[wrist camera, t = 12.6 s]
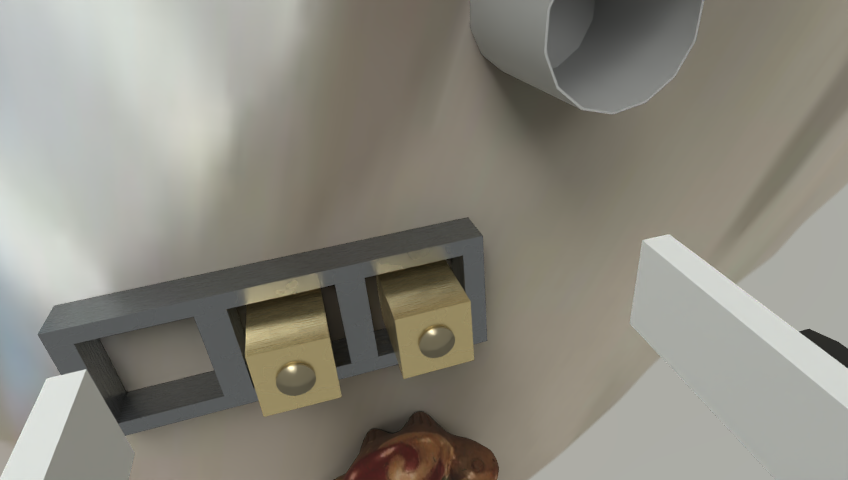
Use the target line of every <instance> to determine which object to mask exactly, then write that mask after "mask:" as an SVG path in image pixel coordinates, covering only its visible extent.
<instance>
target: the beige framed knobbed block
mask: <svg viewBox="0 0 848 480" xmlns="http://www.w3.org/2000/svg"><path fill="white" fill-rule="evenodd" d="M376 281H377V287H378V294H379V300H380V306H381V312H382V318H383V321H384V324H385V327H386V330H387V332H388V335H389V338H390V341H391V344H392V347H393V350H394V353H395V355H396V358H397V361H398V364H399V367H400V370H401V373H402V376H403V379H406V378H409V377H413V376H417V375H421V374H424V373H428V372H432V371H435V370H439V369H443V368H447V367H450V366H454V365H458V364H461V363H465V362H469V361H473V360H474V349H473V333H472V316H471V301H470V299H469V298H468V296H467V295H466V293H465V291H464V290H463V288H462V286H461V285H460V283H459V282H458V280H457V278H456V277H455V275H454V273H453V272H452V270H451V269H450V267H449V265H448V264H447V262H446V260H440V261H436V262H432V263H427V264H423V265H419V266H414V267H410V268H405V269H401V270H397V271H392V272H388V273H383V274H379V275H376Z"/></svg>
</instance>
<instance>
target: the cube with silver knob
mask: <svg viewBox="0 0 848 480" xmlns="http://www.w3.org/2000/svg"><path fill="white" fill-rule="evenodd" d="M245 358H246V361H247V365H248V368H249V371H250V374H251V377H252V381H253V384H254V387H255V390H256V393H257V397H258V400H259V403H260V406H261V409H262V413H263V416H264V417H265V416H269V415H273V414H277V413H281V412H285V411H289V410H293V409H297V408H301V407H305V406H309V405H313V404H317V403H321V402H325V401H329V400H333V399H337V398H341V397H342V395H341V390H340V385H339V380H338V375H337V369H336V364H335V359H334V354H333V348H332V343H331V338H330V333H329V328H328V323H327V318H326V313H325V308H324V303H323V298H322V294H321V289H320V288H317V289H313V290H309V291H304V292H300V293H295V294H291V295H287V296H282V297H278V298H273V299H269V300H265V301H260V302H256V303H251V304H247V309H246V345H245Z"/></svg>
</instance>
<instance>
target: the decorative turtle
mask: <svg viewBox="0 0 848 480" xmlns="http://www.w3.org/2000/svg"><path fill="white" fill-rule="evenodd" d="M498 472H499V467H498V463H497V460H496V458H495V456H494V454H493V453H492V451H491V450H489V449H488V448H486V447H484V446H483V445H481V444H479V443H477V442H476V441H473V440H470V439H468V438H464V437H459V436H455V435H452V434H450V433H448V432H447V431H445V430H444V429H443V428H442V427H441V426H440V425H438V424H437V423H436V422H435V421H434V420H433V419H432V418H431V417H430V416H429V415H428V414H426V413H424V412H420V411H418V412H416V413H414V414H413V415H412V416H411V417H410V419H409V420H408V422H407V423H406V424H405V426H404V427H403V428H402V429H401V430H400V431H399V432H396V433H388V432H385V431H383V430H380V429H371V430H370V431H369V432H368V433H367V435H366V437H365V439H364V441H363V444H362V447H361V450H360V453H359V455H358V456H357V458H356V459H355V461H354V462H353V464H352V465H351V467H350V468H349V470H348V471H347V473H346V474H344V475H342V476H340V477H338V478H336V479H334V480H497V478H498Z"/></svg>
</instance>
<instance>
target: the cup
mask: <svg viewBox="0 0 848 480" xmlns="http://www.w3.org/2000/svg"><path fill="white" fill-rule="evenodd" d="M703 4H704V0H470V28H471V31H472V33H473V35H474V38H475V40H476V42H477V45H478V47H479V49H480V52H481V54H482V55H483V56H484V57H485V58H487V59H488V60H489V61H490V62H491V63H493V64H494V65H495V66H496V67H498V68H499V69H500V70H501V71H503V72H505V73H507V74H509V75H511V76H513V77H515V78H517V79H519V80H521V81H523V82H525V83H527V84H529V85H531V86H533V87H535V88H537V89H540V90H542V91H544V92H546V93H548V94H550V95H552V96H554V97H556V98H558V99H560V100H562V101H564V102H566V103H568V104H570V105H572V106H574V107H577V108H579V109H581V110H586V111H593V112H599V113H606V114H616V113H618V112H621V111H624V110H627V109H630V108H632V107H635V106H638V105H641V104H644V103H646V102H647V101H648V100H649V99H651V98H652V97H653V96H654V95H655V94H656V93H657V92H658V91H660V90H661V89H662V88H663V87H664V86H665V85H666V84H668V83H669V82H670V81H671V80H672V79H673V78H674V77H675V76H676V74H677V73H678V71H679V69H680V67H681V66H682V64H683V62H684V60H685V59H686V57H687V55H688V53H689V52H690V50H691V48H692V47H693V45H694V43H695V41H696V38H697V33H698V28H699V23H700V19H701V14H702V9H703Z"/></svg>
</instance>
